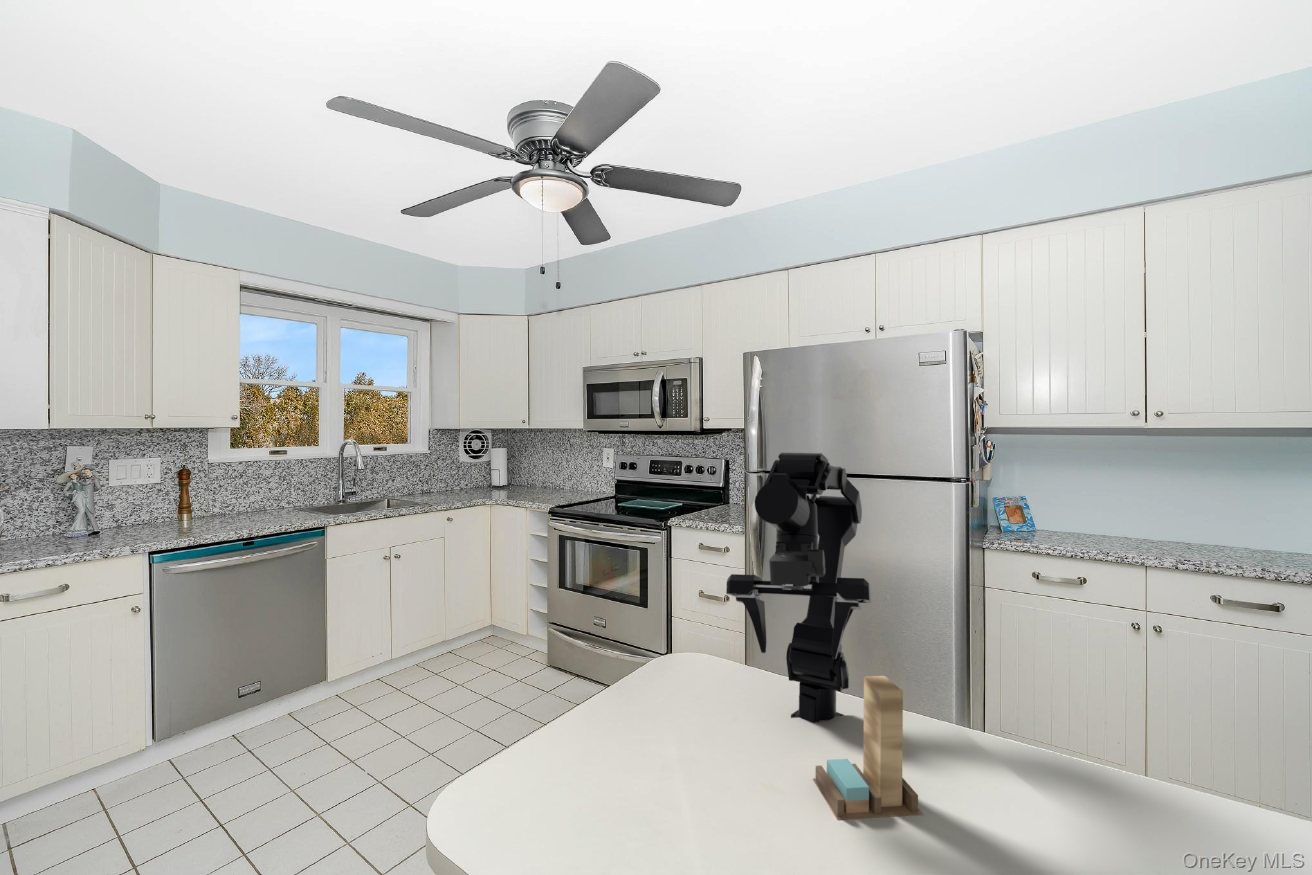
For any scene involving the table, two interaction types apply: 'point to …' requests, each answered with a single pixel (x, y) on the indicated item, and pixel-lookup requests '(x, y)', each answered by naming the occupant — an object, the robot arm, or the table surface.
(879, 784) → the oak board
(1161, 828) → the table surface
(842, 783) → the offcut upper
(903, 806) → the rack
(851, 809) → the offcut lower
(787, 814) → the table surface
